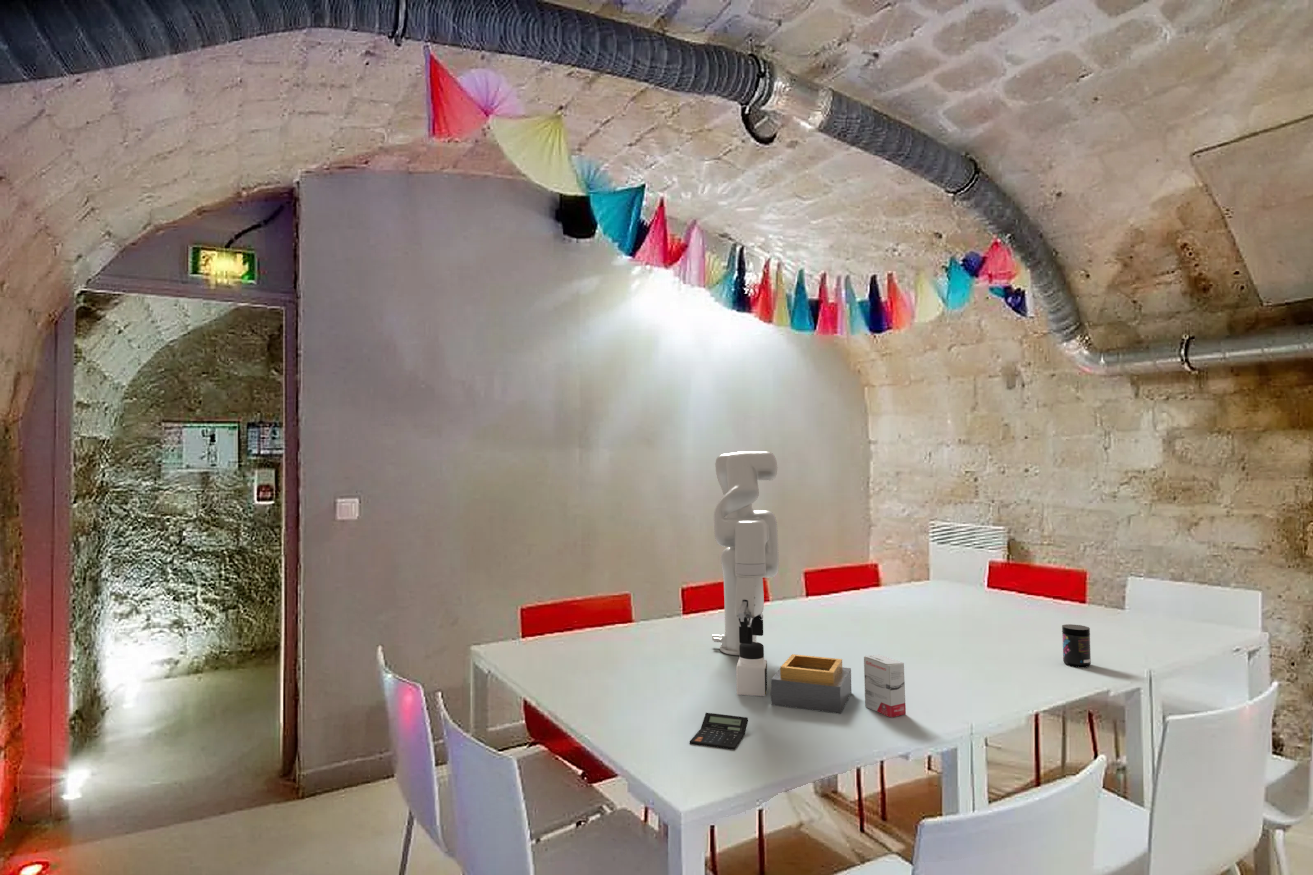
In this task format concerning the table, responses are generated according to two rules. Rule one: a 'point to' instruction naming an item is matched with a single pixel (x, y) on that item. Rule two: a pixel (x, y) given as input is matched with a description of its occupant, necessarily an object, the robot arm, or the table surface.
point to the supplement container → (1076, 645)
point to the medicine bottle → (751, 670)
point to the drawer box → (812, 684)
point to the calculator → (721, 731)
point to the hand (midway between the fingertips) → (751, 639)
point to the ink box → (884, 685)
